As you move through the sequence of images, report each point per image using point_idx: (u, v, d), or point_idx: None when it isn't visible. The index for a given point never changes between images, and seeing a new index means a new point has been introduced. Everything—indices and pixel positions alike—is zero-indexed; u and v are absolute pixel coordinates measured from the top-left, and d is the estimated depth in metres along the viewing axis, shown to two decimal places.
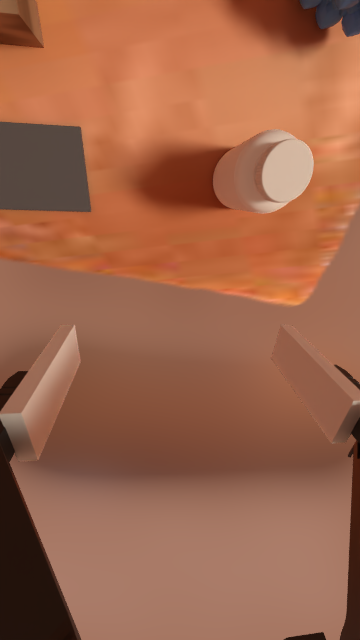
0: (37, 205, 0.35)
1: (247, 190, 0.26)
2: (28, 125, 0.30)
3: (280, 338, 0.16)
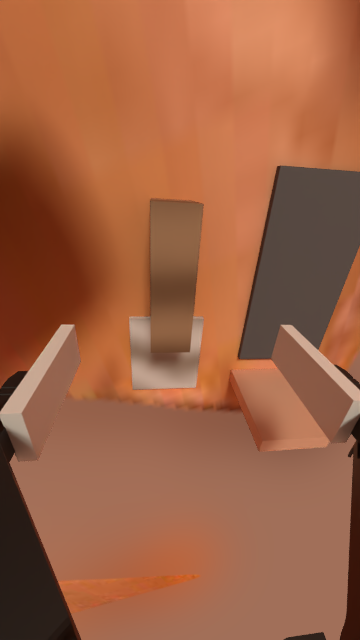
0: (349, 256, 0.24)
1: None
2: (266, 243, 0.23)
3: (280, 338, 0.16)
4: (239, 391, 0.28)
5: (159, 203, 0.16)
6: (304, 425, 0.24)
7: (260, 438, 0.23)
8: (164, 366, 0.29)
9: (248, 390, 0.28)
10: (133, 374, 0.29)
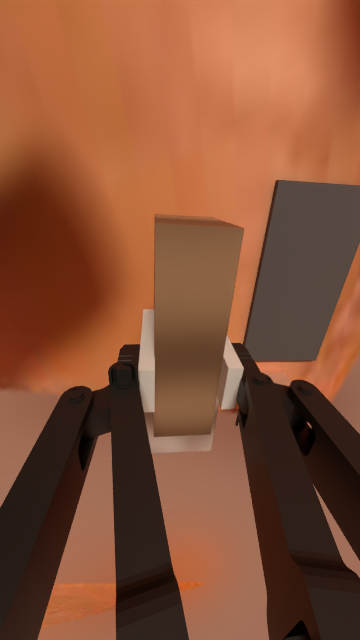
0: (346, 263, 0.26)
1: None
2: (266, 250, 0.25)
3: None
4: None
5: (170, 228, 0.09)
6: None
7: None
8: None
9: None
10: None
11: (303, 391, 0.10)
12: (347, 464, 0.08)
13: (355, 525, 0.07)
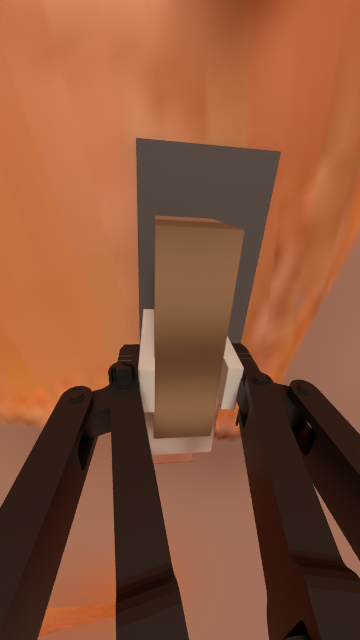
0: (252, 254, 0.20)
1: None
2: (140, 237, 0.19)
3: None
4: None
5: (170, 230, 0.09)
6: (177, 455, 0.31)
7: None
8: None
9: None
10: None
11: (303, 391, 0.10)
12: (347, 465, 0.08)
13: (355, 525, 0.07)
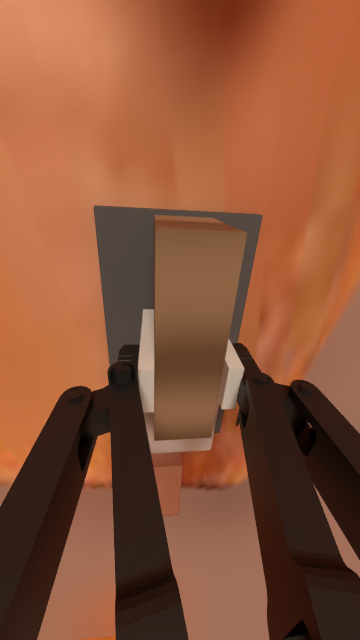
0: (234, 319, 0.18)
1: None
2: (106, 306, 0.17)
3: None
4: None
5: (171, 233, 0.09)
6: (161, 510, 0.29)
7: None
8: None
9: None
10: None
11: (304, 391, 0.10)
12: (347, 464, 0.08)
13: (355, 525, 0.07)
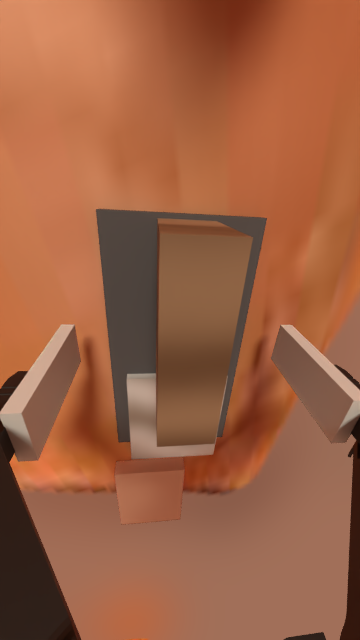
0: (237, 323, 0.18)
1: None
2: (108, 310, 0.16)
3: (280, 338, 0.16)
4: (117, 491, 0.26)
5: (175, 238, 0.09)
6: (163, 515, 0.28)
7: (121, 520, 0.28)
8: None
9: (126, 494, 0.26)
10: (132, 442, 0.22)
11: None
12: None
13: None
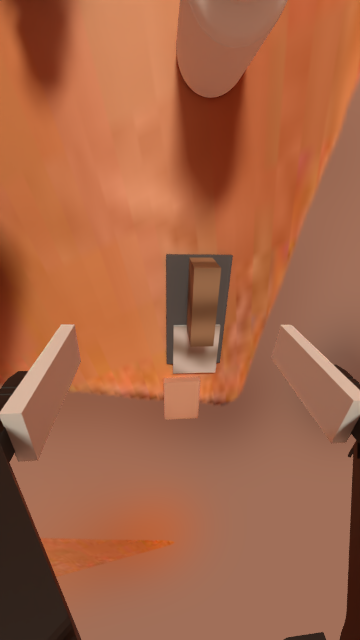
0: (223, 299, 0.40)
1: (263, 14, 0.17)
2: (167, 294, 0.39)
3: (280, 338, 0.16)
4: (164, 395, 0.48)
5: (198, 269, 0.31)
6: (188, 413, 0.50)
7: None
8: (194, 357, 0.44)
9: (169, 396, 0.48)
10: (174, 363, 0.44)
11: None
12: None
13: None
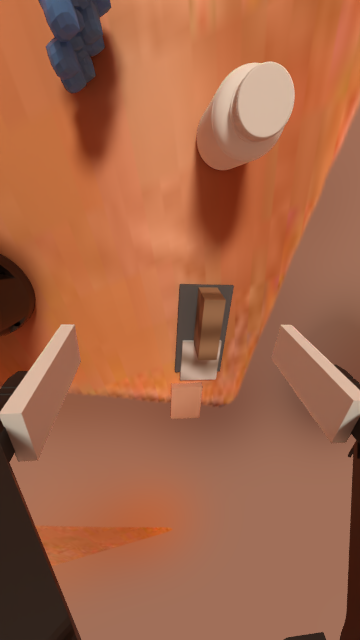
0: (225, 320, 0.48)
1: (264, 146, 0.25)
2: (179, 316, 0.46)
3: (280, 338, 0.16)
4: (171, 398, 0.56)
5: (208, 300, 0.39)
6: (191, 414, 0.58)
7: None
8: (198, 367, 0.52)
9: (175, 399, 0.56)
10: (181, 371, 0.52)
11: None
12: None
13: None
